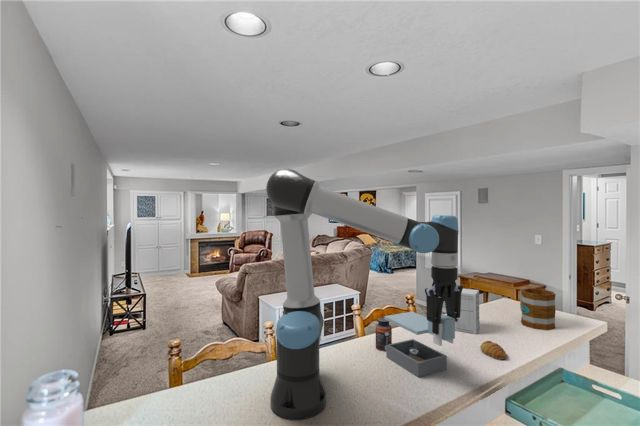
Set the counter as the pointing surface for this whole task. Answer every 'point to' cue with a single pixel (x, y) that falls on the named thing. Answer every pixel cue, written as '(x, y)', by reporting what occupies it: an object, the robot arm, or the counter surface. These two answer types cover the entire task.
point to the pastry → (493, 350)
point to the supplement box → (468, 312)
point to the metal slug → (413, 352)
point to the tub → (400, 356)
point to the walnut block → (417, 359)
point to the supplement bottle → (383, 334)
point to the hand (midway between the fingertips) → (443, 342)
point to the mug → (538, 308)
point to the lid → (423, 324)
